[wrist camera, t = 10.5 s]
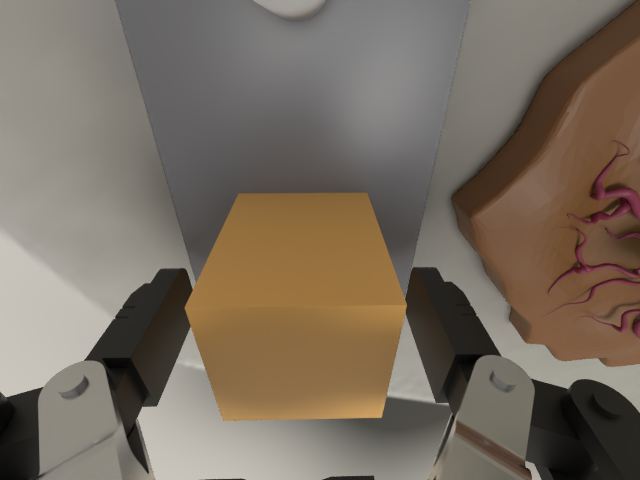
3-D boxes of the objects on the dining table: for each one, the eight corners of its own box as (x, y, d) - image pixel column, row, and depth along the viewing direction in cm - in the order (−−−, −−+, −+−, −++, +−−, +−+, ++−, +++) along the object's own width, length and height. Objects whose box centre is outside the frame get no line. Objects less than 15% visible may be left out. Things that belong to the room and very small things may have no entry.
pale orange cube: (238, 193, 12) (184, 308, 7) (367, 192, 12) (406, 304, 7) (253, 289, 15) (223, 420, 10) (358, 288, 15) (381, 417, 10)
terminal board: (81, -266, 7) (-421, -923, 2) (493, -253, 8) (853, -828, 3) (216, 291, 17) (177, 394, 12) (392, 289, 17) (424, 390, 12)
